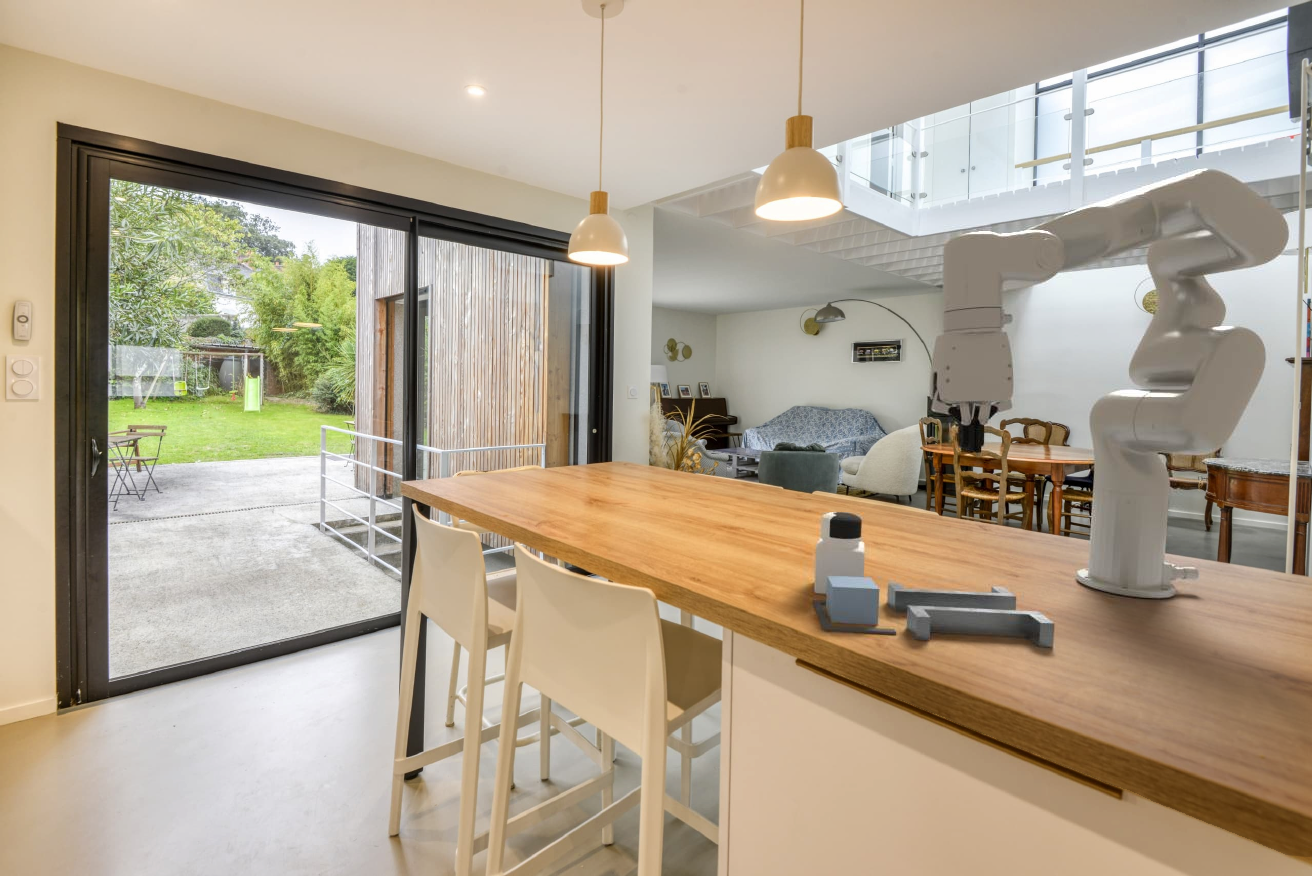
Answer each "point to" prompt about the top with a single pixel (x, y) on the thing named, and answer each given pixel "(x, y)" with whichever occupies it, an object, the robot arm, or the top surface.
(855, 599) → the block
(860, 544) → the medicine bottle
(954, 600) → the grey stepped fixture
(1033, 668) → the top surface
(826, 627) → the bay
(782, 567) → the top surface
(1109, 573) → the robot arm
